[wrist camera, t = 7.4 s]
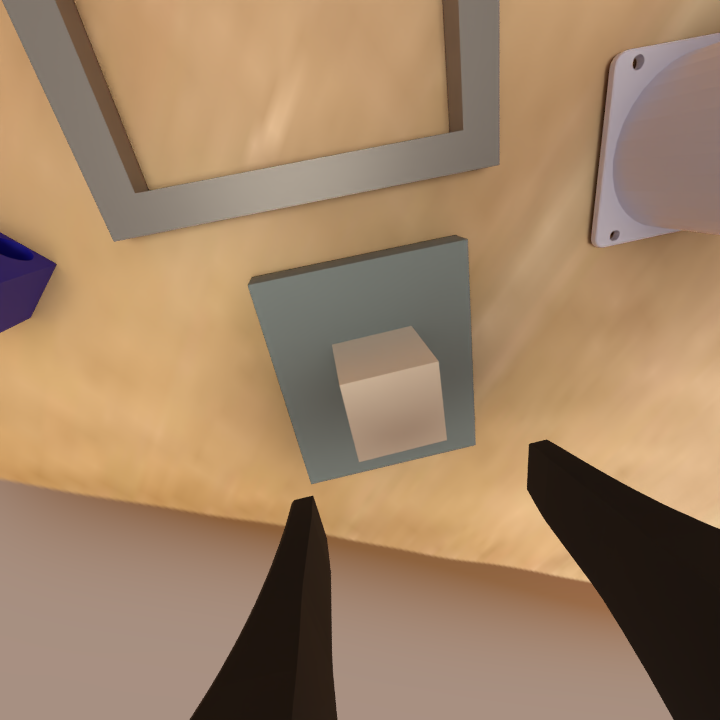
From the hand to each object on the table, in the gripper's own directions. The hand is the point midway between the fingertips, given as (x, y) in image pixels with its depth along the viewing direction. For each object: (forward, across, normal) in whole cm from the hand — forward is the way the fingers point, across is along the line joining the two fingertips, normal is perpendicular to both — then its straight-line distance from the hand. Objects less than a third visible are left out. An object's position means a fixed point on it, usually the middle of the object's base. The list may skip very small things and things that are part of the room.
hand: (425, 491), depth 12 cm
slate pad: (+9, 0, 0) cm, 9 cm away
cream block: (+8, 0, 0) cm, 8 cm away
